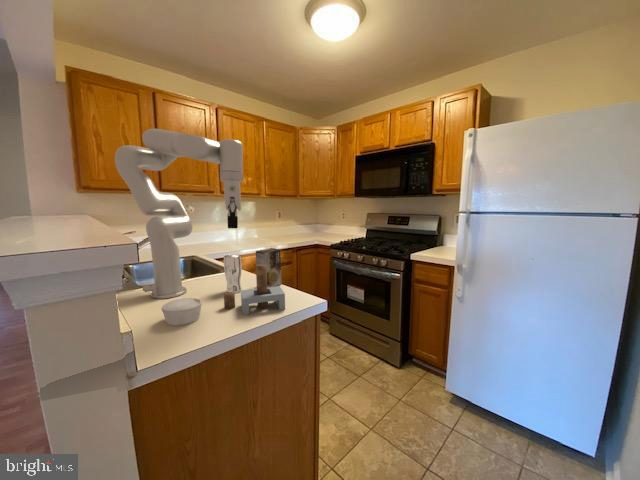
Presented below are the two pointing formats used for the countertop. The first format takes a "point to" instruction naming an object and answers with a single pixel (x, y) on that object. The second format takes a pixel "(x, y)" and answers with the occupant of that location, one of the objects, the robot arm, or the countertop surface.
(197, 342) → the countertop surface
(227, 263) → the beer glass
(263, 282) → the tall brown wooden block
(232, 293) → the brown upright block
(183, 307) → the ramekin
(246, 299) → the hole bridge
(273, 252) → the coffee box
